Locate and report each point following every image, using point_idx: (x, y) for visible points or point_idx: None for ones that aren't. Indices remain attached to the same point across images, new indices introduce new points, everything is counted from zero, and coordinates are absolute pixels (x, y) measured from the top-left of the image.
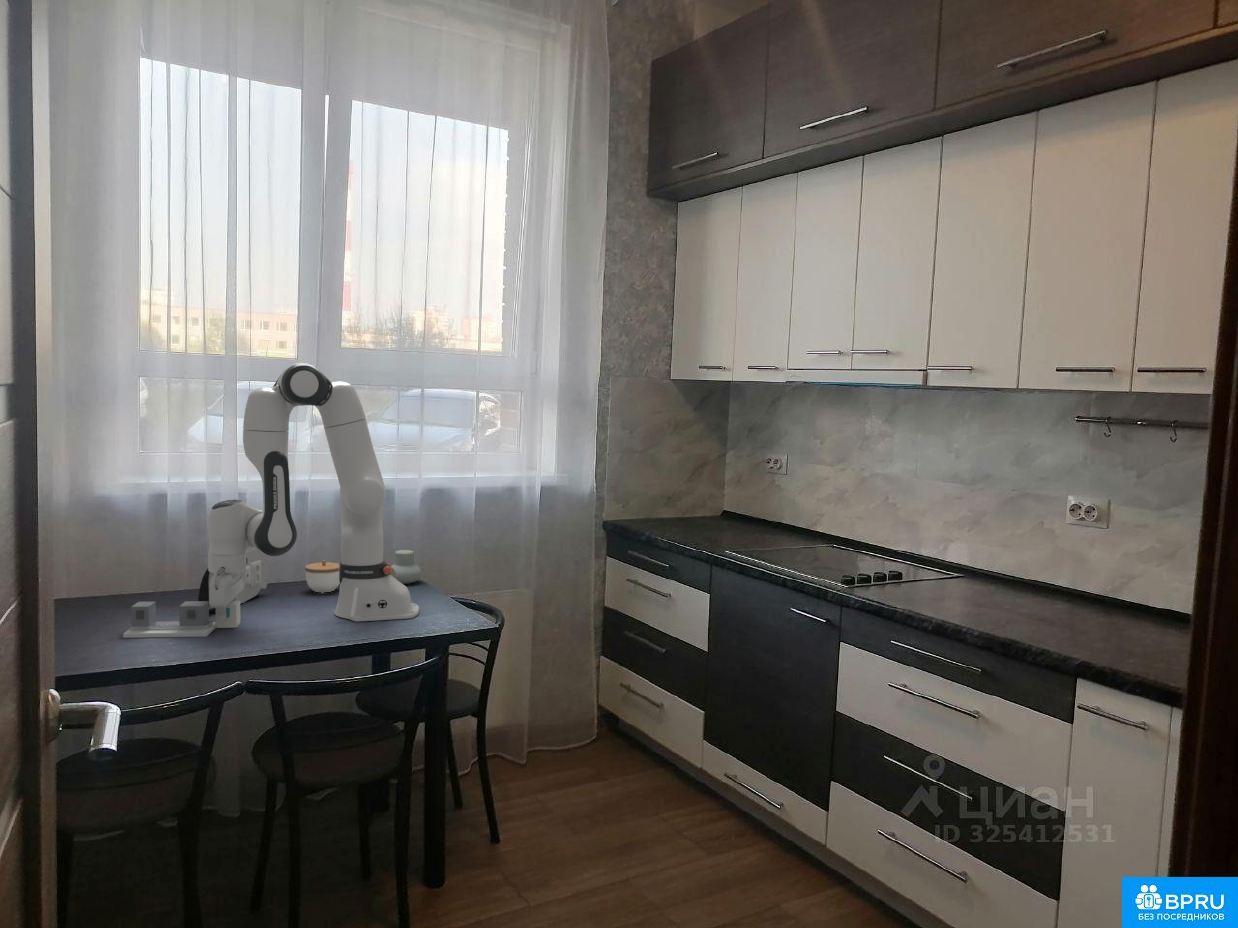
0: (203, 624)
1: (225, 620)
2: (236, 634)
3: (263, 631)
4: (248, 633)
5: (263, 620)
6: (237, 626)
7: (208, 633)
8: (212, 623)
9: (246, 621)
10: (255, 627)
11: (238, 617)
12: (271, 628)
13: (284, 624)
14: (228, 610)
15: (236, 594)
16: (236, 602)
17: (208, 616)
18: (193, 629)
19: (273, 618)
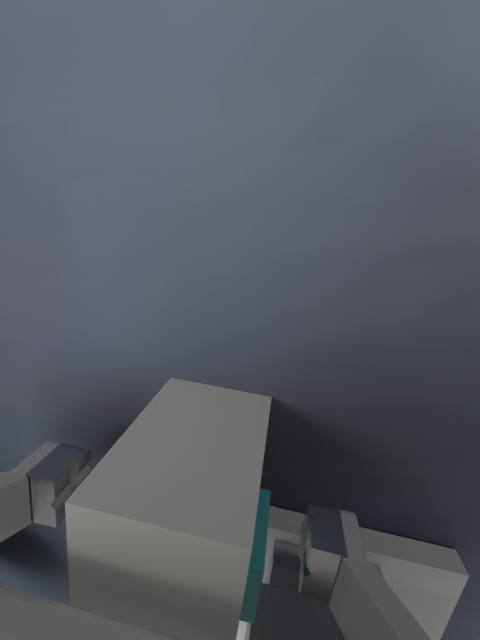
0: None
1: (354, 515)
2: (469, 394)
3: (448, 202)
4: (472, 316)
5: (110, 234)
6: (247, 392)
7: (422, 548)
8: (274, 547)
9: (129, 344)
10: (299, 276)
11: (205, 417)
12: (364, 142)
13: (250, 33)
14: (264, 553)
15: (1, 629)
16: (142, 541)
17: (260, 618)
18: None
19: (58, 163)
